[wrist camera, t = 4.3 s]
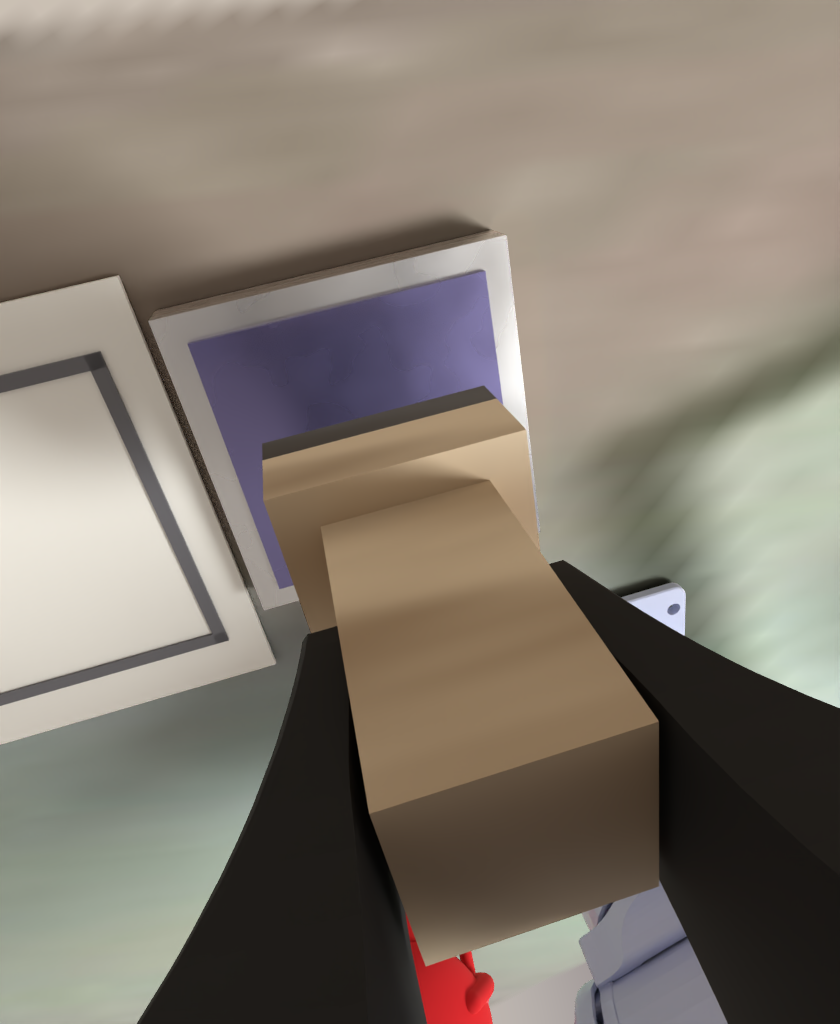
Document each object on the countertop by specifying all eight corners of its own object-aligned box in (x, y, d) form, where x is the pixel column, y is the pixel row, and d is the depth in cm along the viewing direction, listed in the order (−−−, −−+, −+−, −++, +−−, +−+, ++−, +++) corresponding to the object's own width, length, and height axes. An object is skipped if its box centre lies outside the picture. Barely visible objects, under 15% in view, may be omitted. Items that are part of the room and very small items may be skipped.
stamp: (510, 565, 15) (712, 900, 9) (322, 620, 15) (378, 1015, 8) (483, 385, 13) (731, 644, 6) (262, 443, 13) (269, 788, 6)
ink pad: (527, 514, 22) (541, 534, 21) (263, 588, 21) (263, 613, 20) (492, 229, 18) (508, 235, 16) (154, 310, 17) (146, 322, 16)
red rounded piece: (523, 1019, 32) (540, 1047, 27) (428, 1117, 31) (425, 1166, 26) (423, 873, 36) (420, 872, 30) (331, 954, 34) (312, 968, 29)
